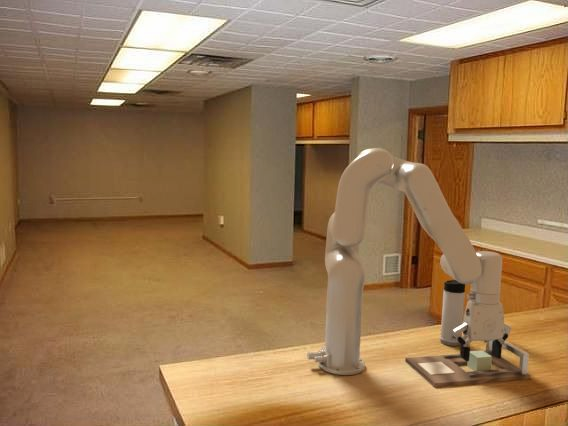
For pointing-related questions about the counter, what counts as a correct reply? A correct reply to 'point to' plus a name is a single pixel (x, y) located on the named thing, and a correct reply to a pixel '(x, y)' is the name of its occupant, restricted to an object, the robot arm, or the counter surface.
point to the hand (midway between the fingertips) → (480, 358)
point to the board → (449, 373)
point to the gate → (514, 349)
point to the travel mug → (452, 311)
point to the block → (479, 361)
